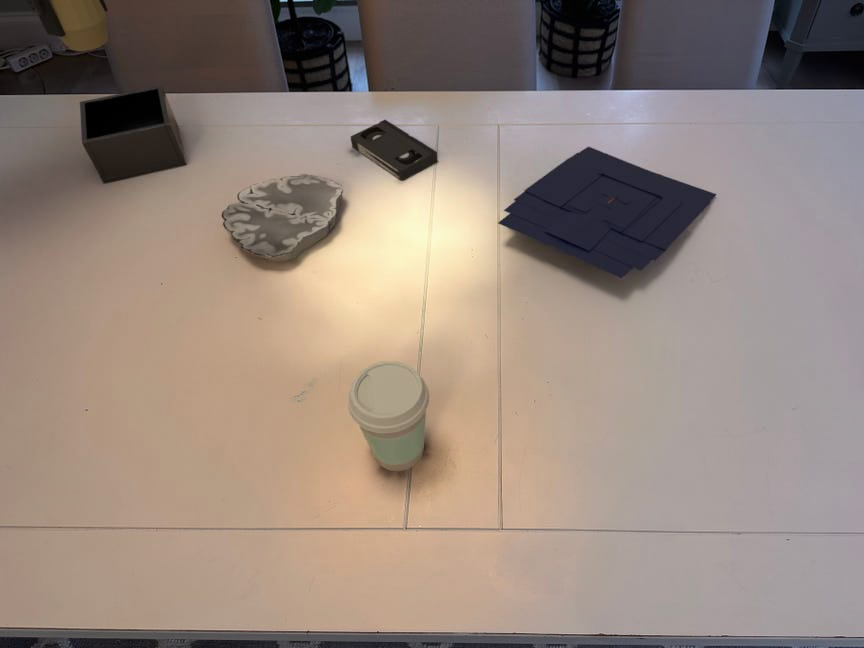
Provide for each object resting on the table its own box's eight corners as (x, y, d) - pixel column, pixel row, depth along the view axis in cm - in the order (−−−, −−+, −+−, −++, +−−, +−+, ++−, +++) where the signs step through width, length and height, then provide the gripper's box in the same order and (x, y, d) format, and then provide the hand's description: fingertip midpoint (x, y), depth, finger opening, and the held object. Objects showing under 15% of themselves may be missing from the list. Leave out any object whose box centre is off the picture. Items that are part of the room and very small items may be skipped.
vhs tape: (351, 146, 119) (349, 136, 117) (386, 129, 122) (385, 119, 121) (401, 181, 112) (400, 171, 111) (437, 162, 116) (436, 151, 114)
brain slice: (269, 180, 113) (264, 165, 111) (360, 200, 109) (358, 184, 107) (201, 254, 101) (195, 239, 99) (301, 279, 97) (296, 264, 95)
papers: (485, 233, 101) (487, 213, 99) (584, 160, 119) (587, 141, 117) (630, 300, 92) (635, 279, 89) (713, 209, 110) (720, 189, 107)
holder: (103, 183, 113) (81, 142, 107) (100, 142, 121) (79, 101, 115) (186, 165, 116) (169, 124, 110) (177, 125, 124) (161, 85, 118)
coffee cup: (382, 411, 82) (368, 347, 73) (446, 432, 80) (440, 369, 71) (349, 468, 77) (329, 407, 68) (416, 492, 75) (406, 433, 66)
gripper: (-61, -142, 75) (43, 57, 93) (76, -187, 88) (145, -3, 105) (-108, -148, 77) (3, 48, 95) (32, -191, 89) (108, -10, 107)
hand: (78, 21), depth 100 cm, fingers closed on squeeze bottle, 8 cm apart
